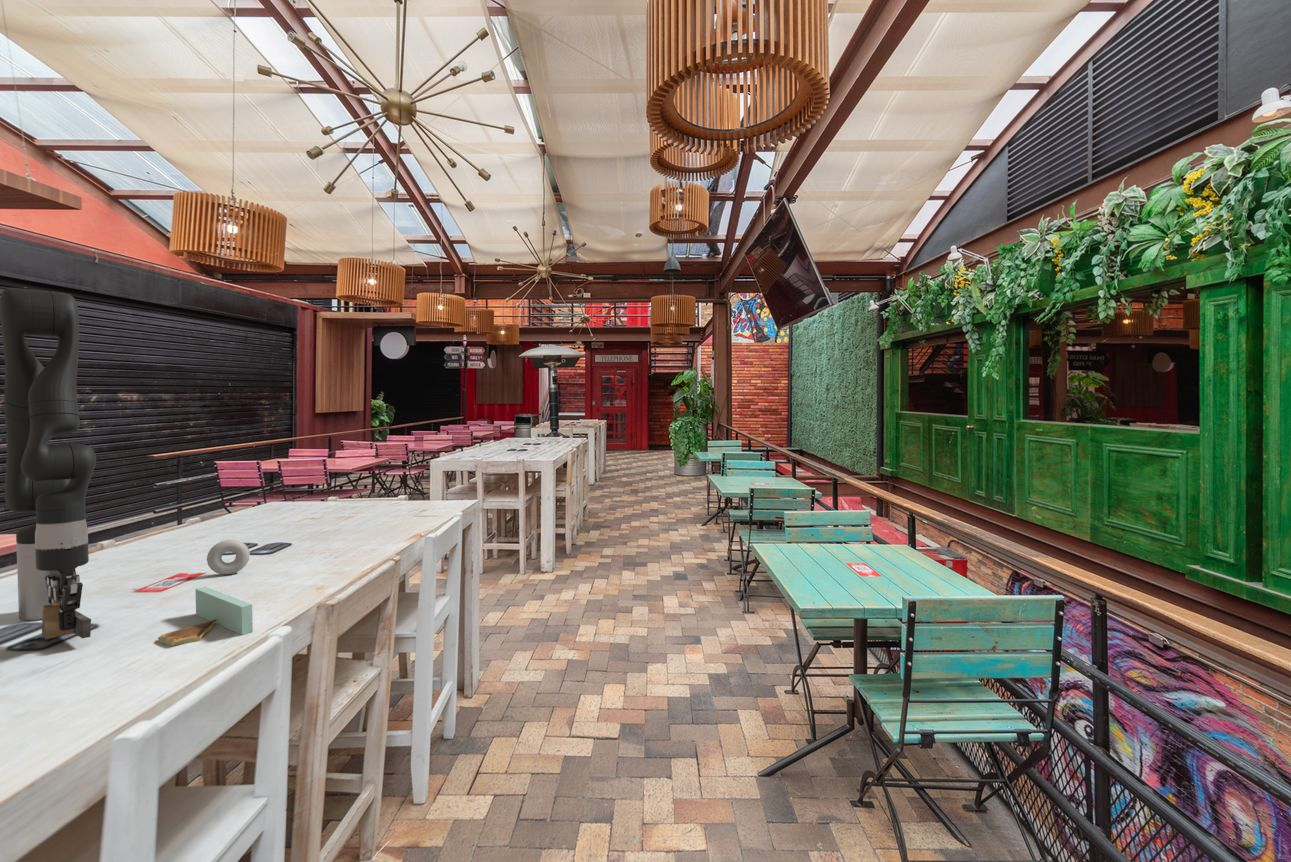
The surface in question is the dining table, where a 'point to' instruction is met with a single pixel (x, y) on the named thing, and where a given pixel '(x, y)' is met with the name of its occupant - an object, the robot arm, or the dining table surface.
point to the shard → (186, 634)
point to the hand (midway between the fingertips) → (64, 627)
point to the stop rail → (224, 610)
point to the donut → (229, 568)
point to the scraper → (53, 629)
